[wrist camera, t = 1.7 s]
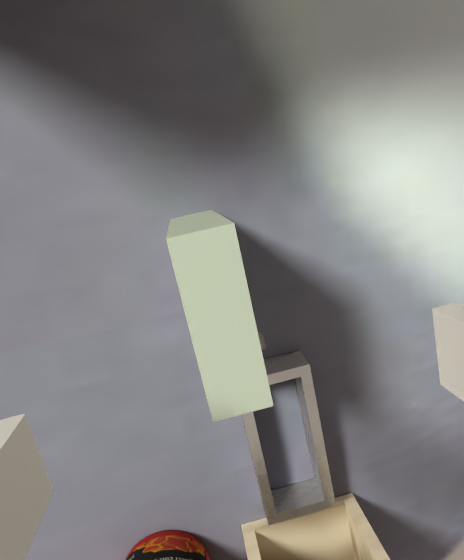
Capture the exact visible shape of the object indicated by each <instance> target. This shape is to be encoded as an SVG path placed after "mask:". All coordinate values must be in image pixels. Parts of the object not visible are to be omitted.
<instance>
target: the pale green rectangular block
mask: <svg viewBox="0 0 464 560" xmlns="http://www.w3.org/2000/svg"><path fill="white" fill-rule="evenodd" d="M166 241H167V245H168V249H169V252H170V256H171V260H172V264H173V268H174V272H175V276H176V280H177V284H178V288H179V291H180V295H181V299H182V303H183V307H184V311H185V315H186V319H187V323H188V327H189V330H190V334H191V338H192V342H193V346H194V350H195V354H196V358H197V362H198V366H199V369H200V373H201V377H202V381H203V385H204V389H205V393H206V397H207V401H208V405H209V408H210V412H211V416H212V420H213V422H216V421H220V420H223V419H227V418H231V417H234V416H238V415H242V414H246V413H249V412H253V411H257V410H260V409H264V408H268V407H272V406H273V401H272V397H271V392H270V387H269V383H268V378H267V373H266V369H265V364H264V359H263V355H262V350H263V349H266V346H265V341H264V337H263V334H262V332H261V333H258V331H257V327H256V322H255V317H254V313H253V308H252V303H251V299H250V294H249V289H248V285H247V280H246V275H245V271H244V266H243V261H242V257H241V252H240V247H239V243H238V238H237V233H236V229H235V224H234V222H232V221H230V220H228V219H227V218H225V217H223V216H222V215H220V214H218V213H217V212H215V211H213V210H209V211H204V212H200V213H195V214H191V215H187V216H182V217H178V218H174V219H170V224H169V228H168V232H167V237H166Z"/></svg>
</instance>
